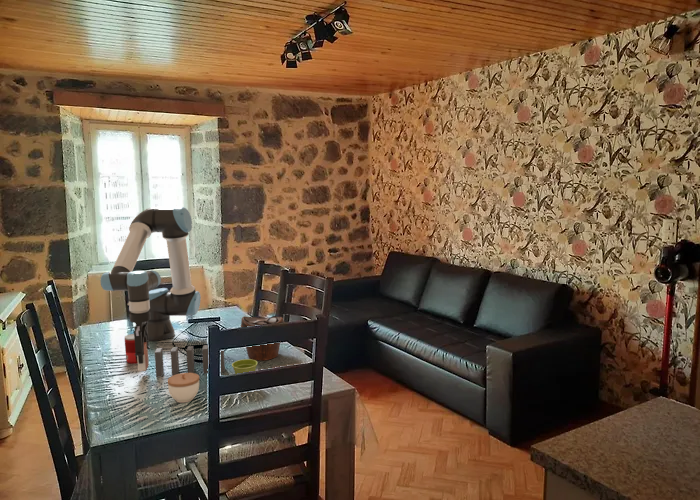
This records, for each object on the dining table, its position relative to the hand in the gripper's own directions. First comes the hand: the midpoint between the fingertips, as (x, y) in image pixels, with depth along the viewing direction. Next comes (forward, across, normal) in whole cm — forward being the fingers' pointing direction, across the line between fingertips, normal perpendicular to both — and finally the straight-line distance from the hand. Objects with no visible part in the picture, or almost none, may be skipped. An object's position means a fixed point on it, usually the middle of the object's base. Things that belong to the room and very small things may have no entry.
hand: (143, 368), depth 209 cm
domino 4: (+3, 0, +18) cm, 18 cm away
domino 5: (+3, 0, +24) cm, 24 cm away
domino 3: (+3, 0, +12) cm, 12 cm away
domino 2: (+3, 0, +6) cm, 7 cm away
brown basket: (+3, -14, +47) cm, 49 cm away
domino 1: (0, 0, 0) cm, 0 cm away
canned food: (+3, -18, -7) cm, 20 cm away
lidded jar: (+3, +26, +19) cm, 32 cm away
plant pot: (+3, +18, +40) cm, 44 cm away
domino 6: (+3, 0, +30) cm, 30 cm away
